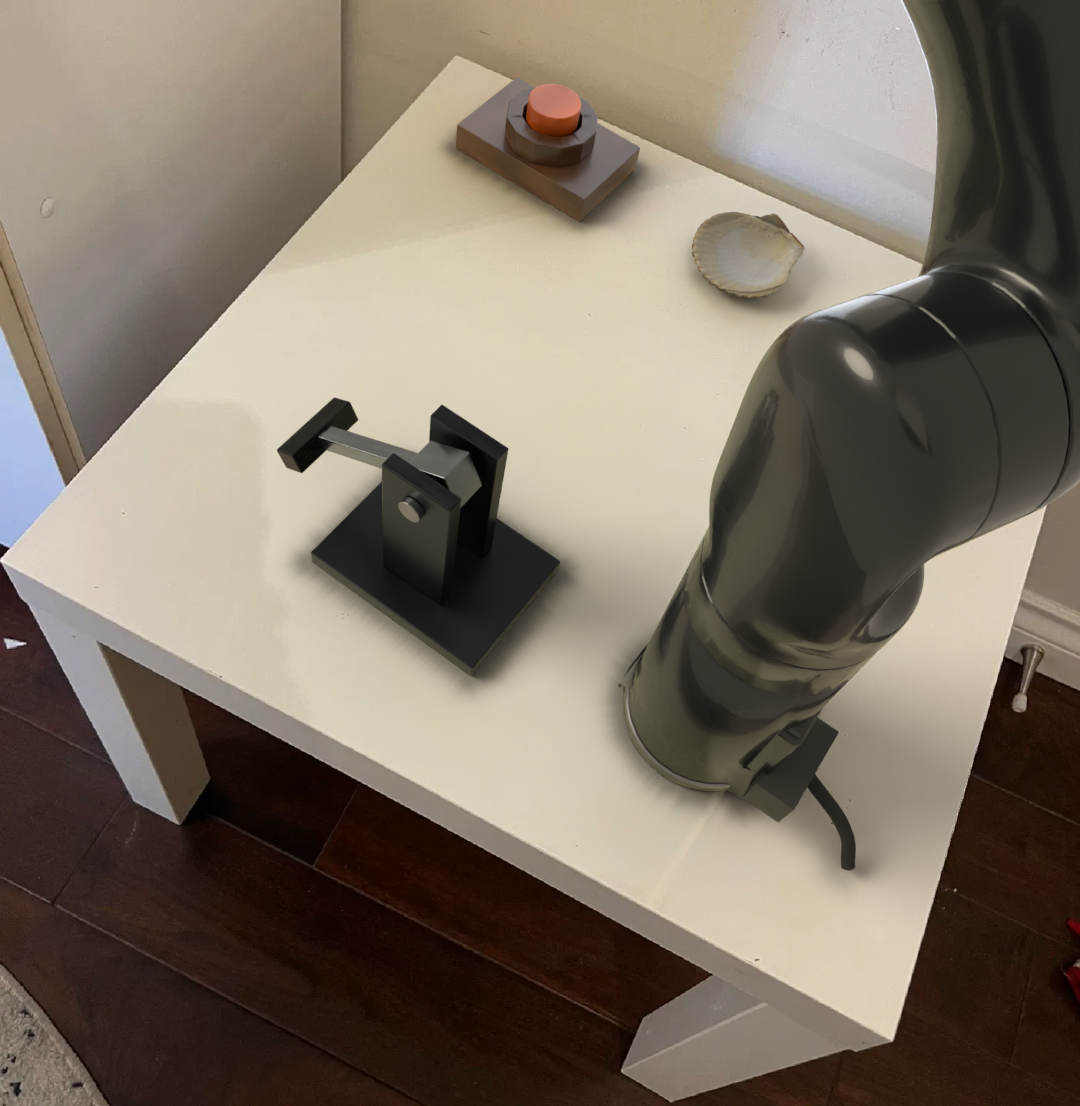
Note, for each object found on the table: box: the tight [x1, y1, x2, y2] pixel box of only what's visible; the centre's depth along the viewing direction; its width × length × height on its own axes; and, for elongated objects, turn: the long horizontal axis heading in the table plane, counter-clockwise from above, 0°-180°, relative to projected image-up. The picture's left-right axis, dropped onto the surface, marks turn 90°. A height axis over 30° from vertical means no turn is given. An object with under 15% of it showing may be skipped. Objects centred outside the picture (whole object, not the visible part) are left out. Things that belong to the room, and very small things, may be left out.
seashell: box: [691, 211, 805, 299], centre depth 78 cm, size 8×3×8 cm
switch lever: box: [276, 397, 482, 508], centre depth 57 cm, size 12×5×2 cm, turn 55°
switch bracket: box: [310, 404, 562, 677], centre depth 58 cm, size 12×9×12 cm
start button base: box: [455, 77, 641, 223], centre depth 81 cm, size 12×8×4 cm, turn 55°
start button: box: [526, 83, 581, 137], centre depth 79 cm, size 4×4×2 cm
